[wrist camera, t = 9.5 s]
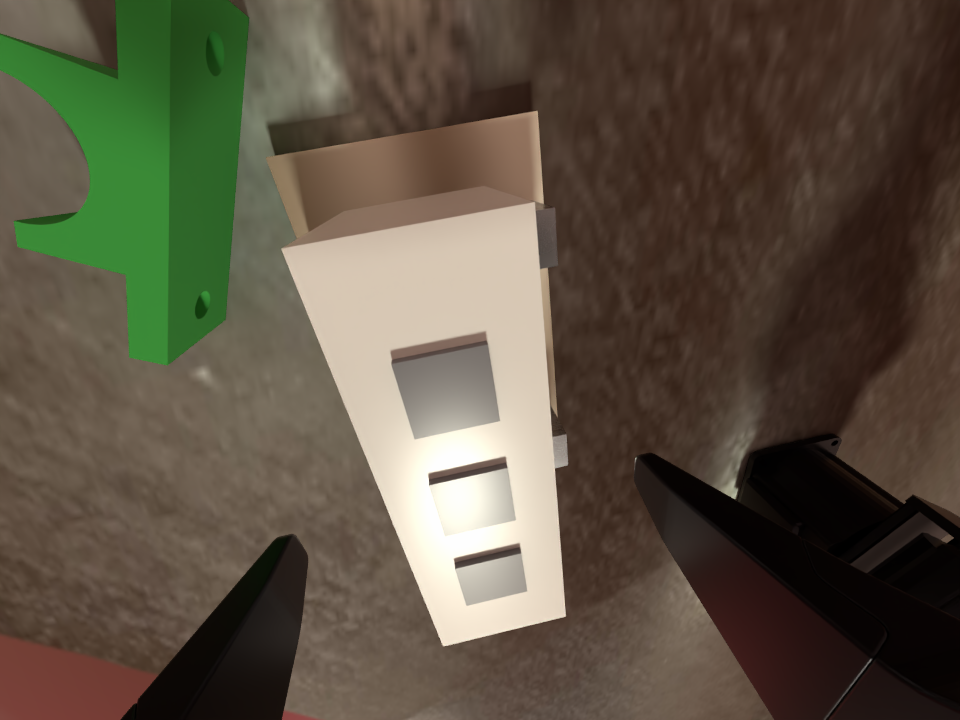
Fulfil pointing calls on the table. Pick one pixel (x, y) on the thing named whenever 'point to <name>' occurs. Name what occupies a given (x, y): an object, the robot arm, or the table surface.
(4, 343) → the table surface
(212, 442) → the table surface
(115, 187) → the pipe clamp
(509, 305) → the power strip
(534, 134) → the stand
